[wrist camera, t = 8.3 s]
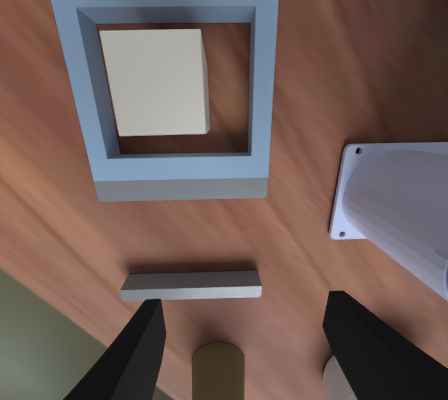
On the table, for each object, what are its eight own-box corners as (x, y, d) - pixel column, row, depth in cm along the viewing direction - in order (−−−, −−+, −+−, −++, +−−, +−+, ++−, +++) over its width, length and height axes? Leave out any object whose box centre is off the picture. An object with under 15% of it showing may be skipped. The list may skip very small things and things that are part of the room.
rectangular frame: (270, -3, 13) (279, -24, 11) (257, 280, 20) (261, 296, 18) (71, -1, 13) (45, -23, 11) (131, 284, 20) (122, 301, 18)
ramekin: (423, 333, 23) (477, 389, 19) (390, 394, 27) (428, 455, 22) (324, 331, 23) (353, 389, 18) (306, 394, 27) (325, 456, 22)
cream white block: (207, 66, 14) (200, 28, 8) (210, 129, 15) (205, 133, 10) (147, 67, 14) (99, 30, 8) (155, 131, 15) (119, 136, 10)
